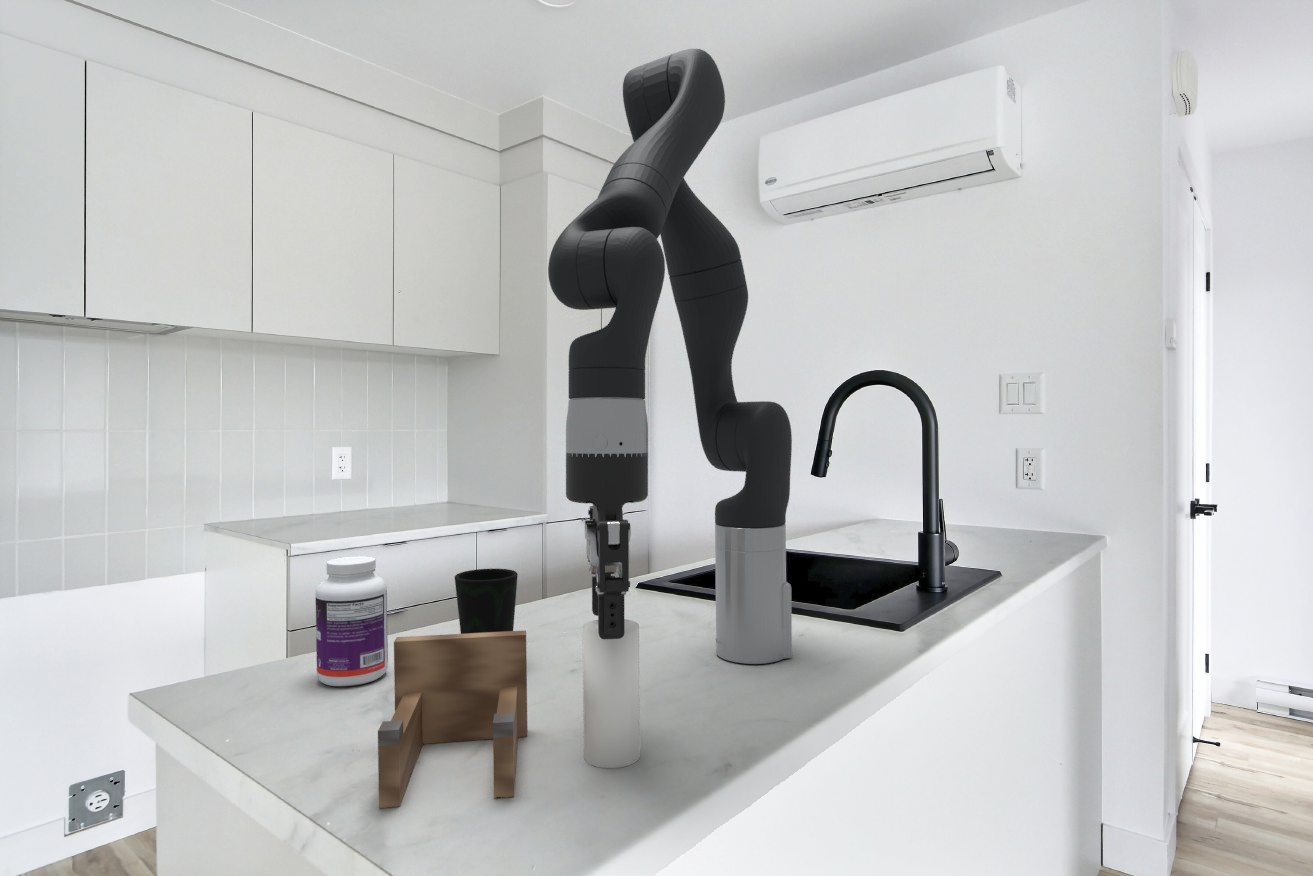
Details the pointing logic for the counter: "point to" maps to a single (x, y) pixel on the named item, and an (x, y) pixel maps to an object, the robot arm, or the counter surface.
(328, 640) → the pill bottle
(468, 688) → the holder
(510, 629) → the cup
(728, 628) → the robot arm
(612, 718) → the roll
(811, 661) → the counter surface
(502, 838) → the counter surface
